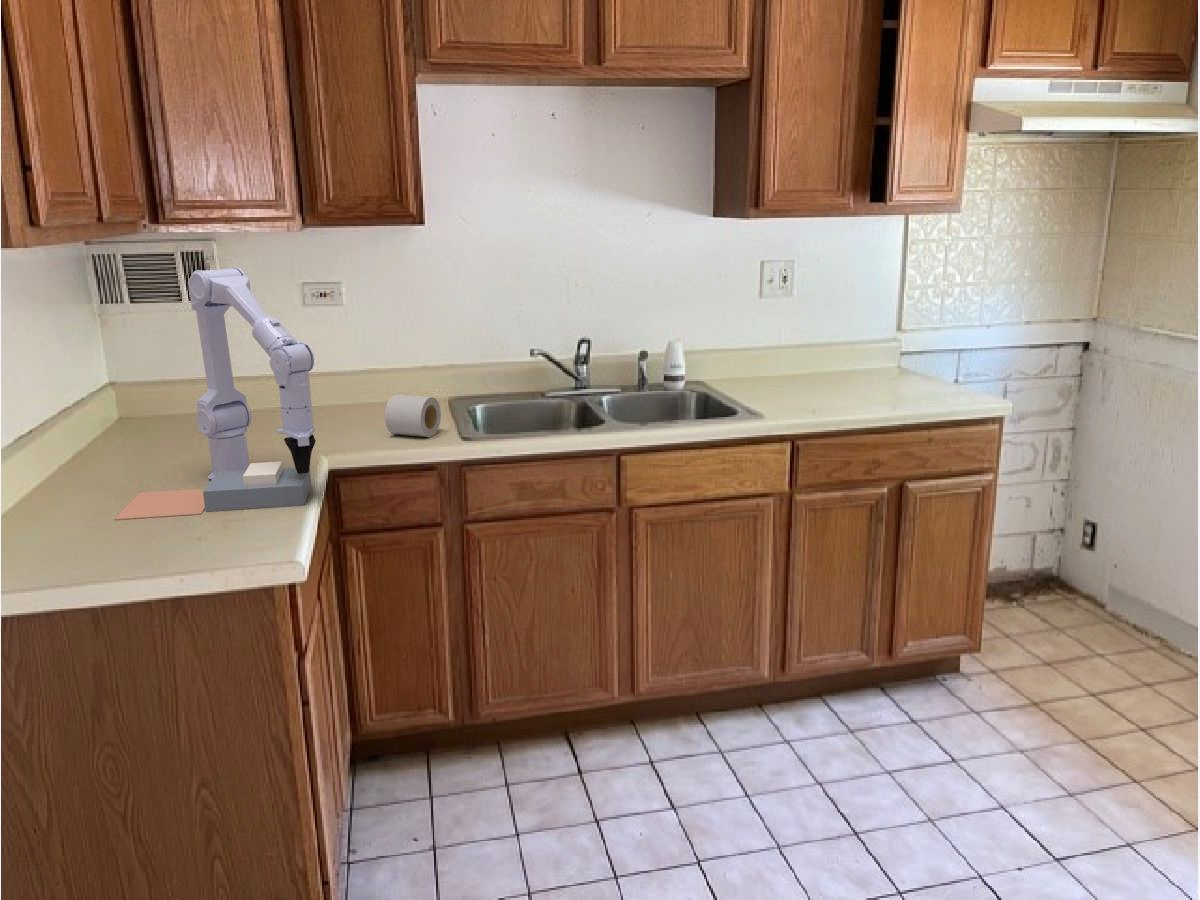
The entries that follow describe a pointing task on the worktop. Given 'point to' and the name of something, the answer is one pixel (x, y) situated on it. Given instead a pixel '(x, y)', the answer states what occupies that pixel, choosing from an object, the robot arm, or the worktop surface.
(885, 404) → the worktop surface
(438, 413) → the toilet paper
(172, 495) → the terracotta mat
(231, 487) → the plate
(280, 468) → the white rectangular block
